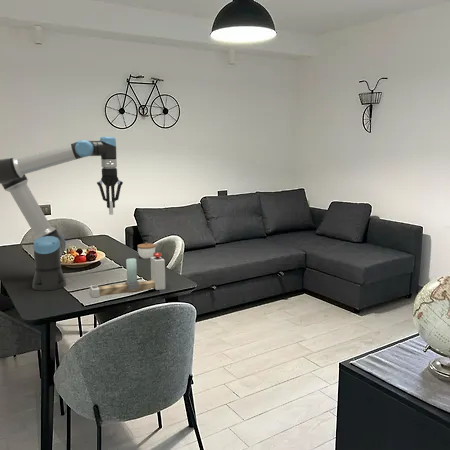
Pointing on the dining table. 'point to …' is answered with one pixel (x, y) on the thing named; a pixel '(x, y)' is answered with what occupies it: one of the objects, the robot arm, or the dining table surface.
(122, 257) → the dining table surface
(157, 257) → the gauge plunger
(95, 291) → the block
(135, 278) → the carriage
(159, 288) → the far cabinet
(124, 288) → the rail
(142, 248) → the lidded jar
